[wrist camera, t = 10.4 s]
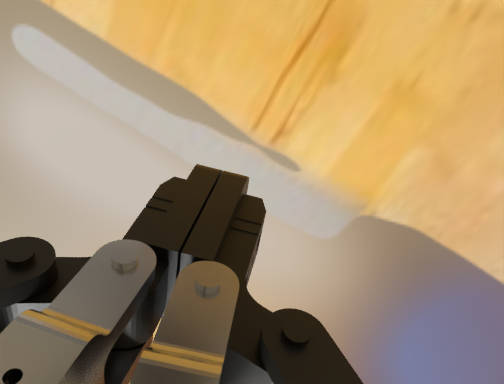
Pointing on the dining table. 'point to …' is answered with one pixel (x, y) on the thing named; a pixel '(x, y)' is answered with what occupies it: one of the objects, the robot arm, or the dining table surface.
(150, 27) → the dining table surface
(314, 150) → the dining table surface
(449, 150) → the dining table surface
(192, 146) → the dining table surface
